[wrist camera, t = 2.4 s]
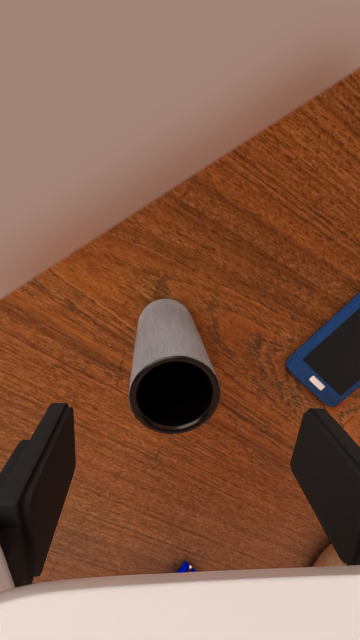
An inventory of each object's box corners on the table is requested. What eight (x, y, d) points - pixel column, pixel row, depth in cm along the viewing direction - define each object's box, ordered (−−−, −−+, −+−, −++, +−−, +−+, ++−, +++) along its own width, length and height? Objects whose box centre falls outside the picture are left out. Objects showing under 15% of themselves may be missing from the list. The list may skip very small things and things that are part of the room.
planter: (132, 304, 22) (117, 367, 13) (187, 293, 22) (214, 347, 13) (144, 353, 24) (140, 443, 14) (196, 343, 24) (226, 424, 14)
